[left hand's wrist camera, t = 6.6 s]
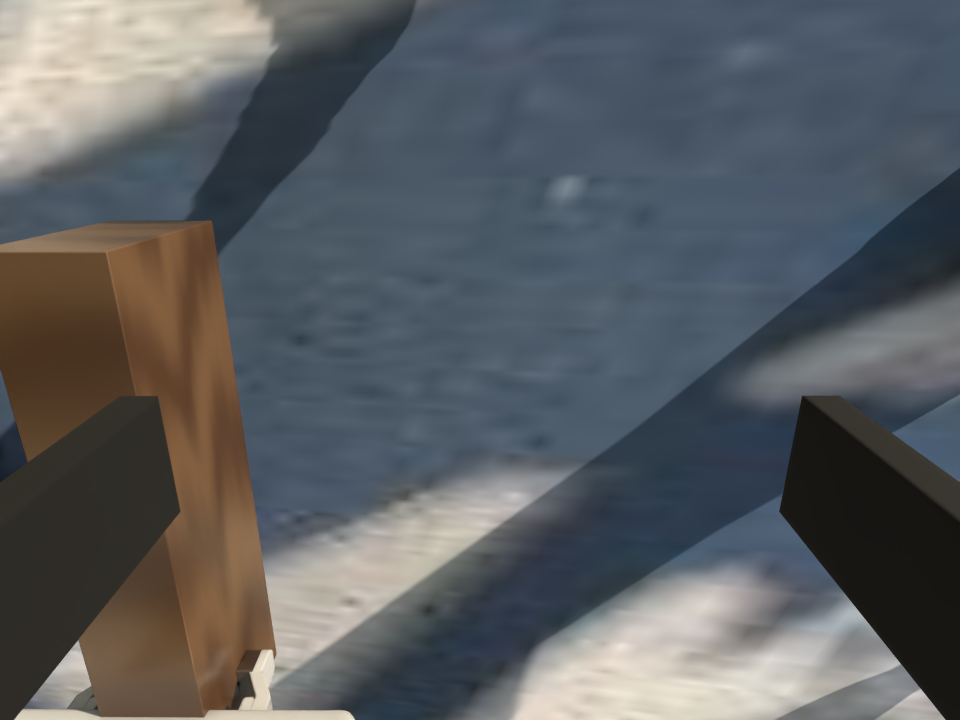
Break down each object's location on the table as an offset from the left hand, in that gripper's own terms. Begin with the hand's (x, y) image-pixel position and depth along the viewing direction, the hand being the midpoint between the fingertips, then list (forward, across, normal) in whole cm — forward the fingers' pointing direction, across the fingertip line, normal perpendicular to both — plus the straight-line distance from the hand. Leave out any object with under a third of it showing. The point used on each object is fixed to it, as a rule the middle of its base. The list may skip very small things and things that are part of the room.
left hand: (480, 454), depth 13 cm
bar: (+19, -16, -11) cm, 27 cm away
